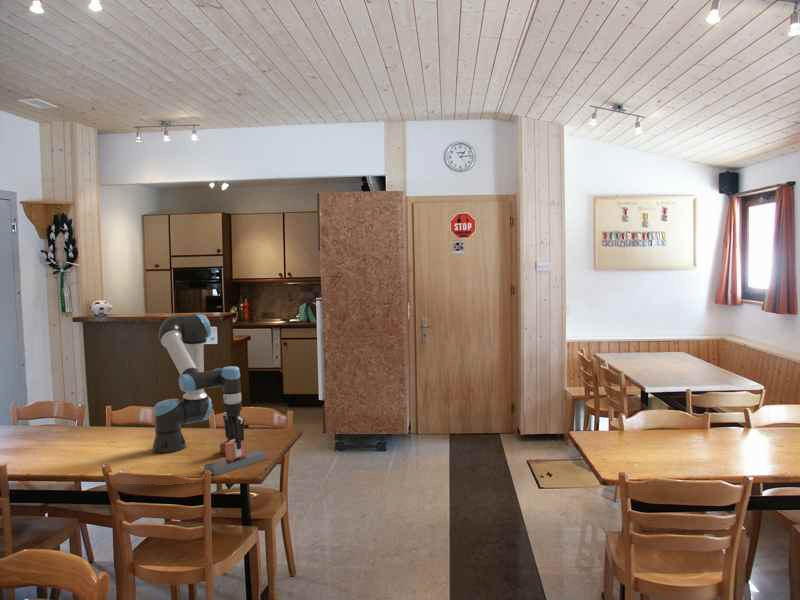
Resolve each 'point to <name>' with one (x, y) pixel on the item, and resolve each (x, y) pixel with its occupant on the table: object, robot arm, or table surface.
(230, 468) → the rail
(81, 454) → the table surface
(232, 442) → the pink slab
